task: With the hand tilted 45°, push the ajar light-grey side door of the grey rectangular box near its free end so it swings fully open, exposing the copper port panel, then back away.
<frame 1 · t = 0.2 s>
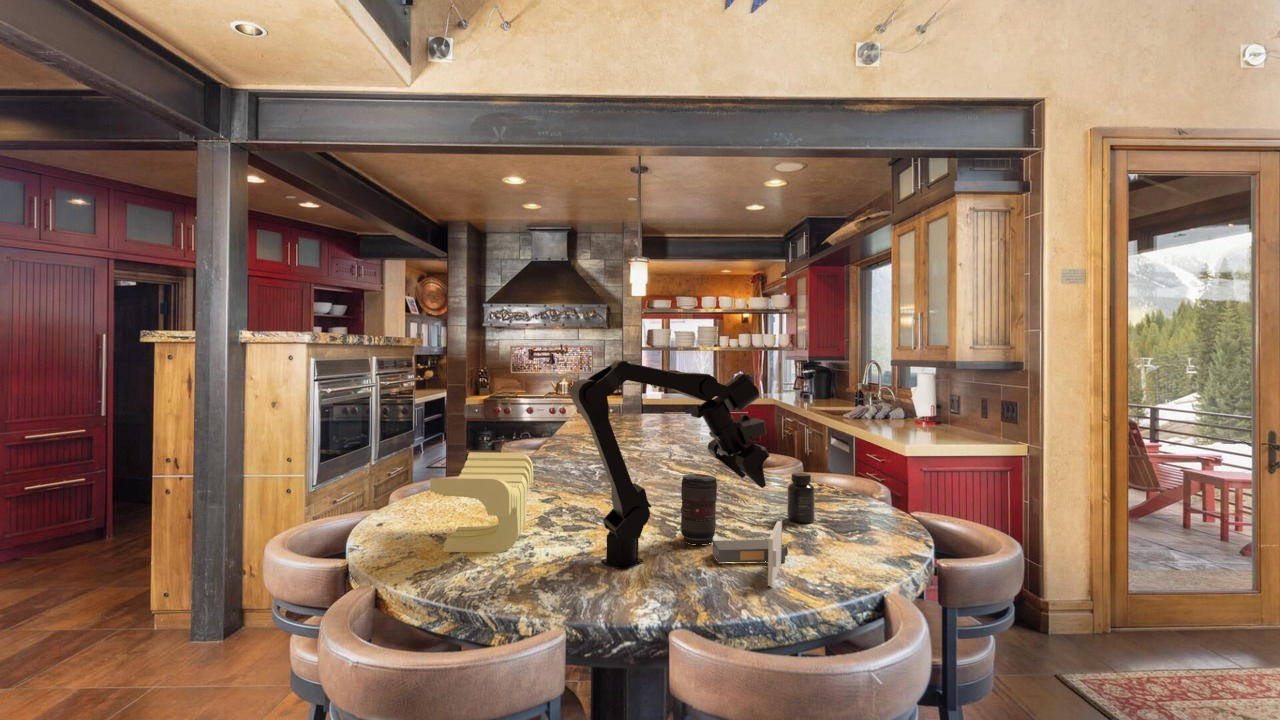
hand: (753, 481, 141), 15 cm above the worktop, tool tilted 30°, fingers open, 9 cm apart
camera lens: (698, 542, 144), on the worktop
supplement bottle: (800, 521, 163), on the worktop
slatted curved stool: (487, 543, 143), on the worktop
side door: (776, 551, 124), point 5 cm above the worktop, hinge at 65.0°
grey rectangular box: (775, 562, 131), on the worktop
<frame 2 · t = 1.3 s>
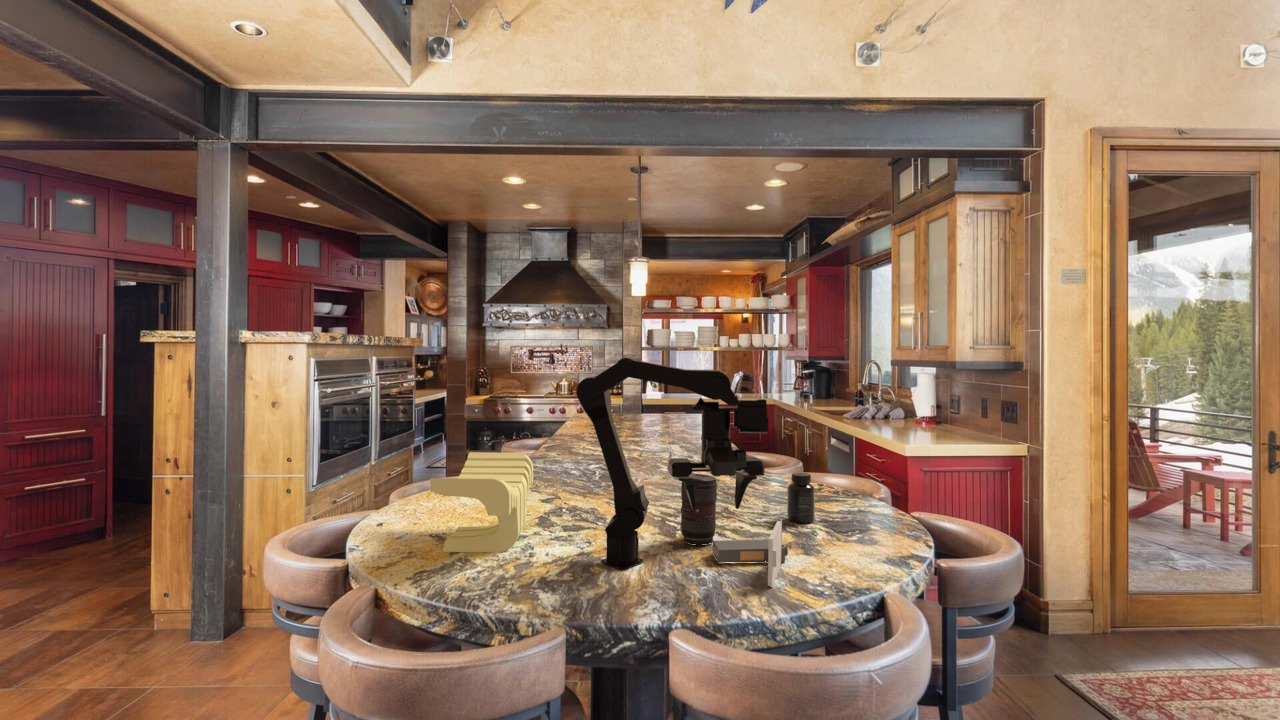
hand: (715, 509, 127), 12 cm above the worktop, tool pointing down, fingers open, 9 cm apart
nothing on the worktop moved.
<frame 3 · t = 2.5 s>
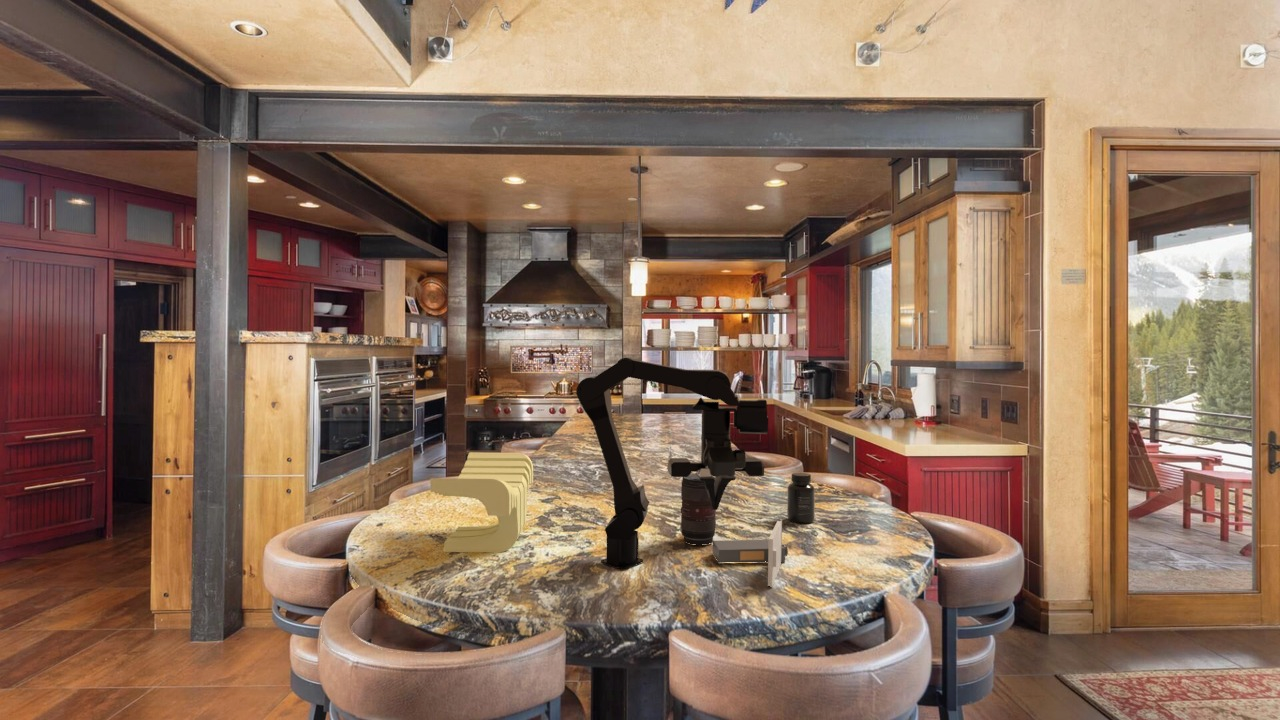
hand: (714, 509, 127), 12 cm above the worktop, tool pointing down, fingers closed
nothing on the worktop moved.
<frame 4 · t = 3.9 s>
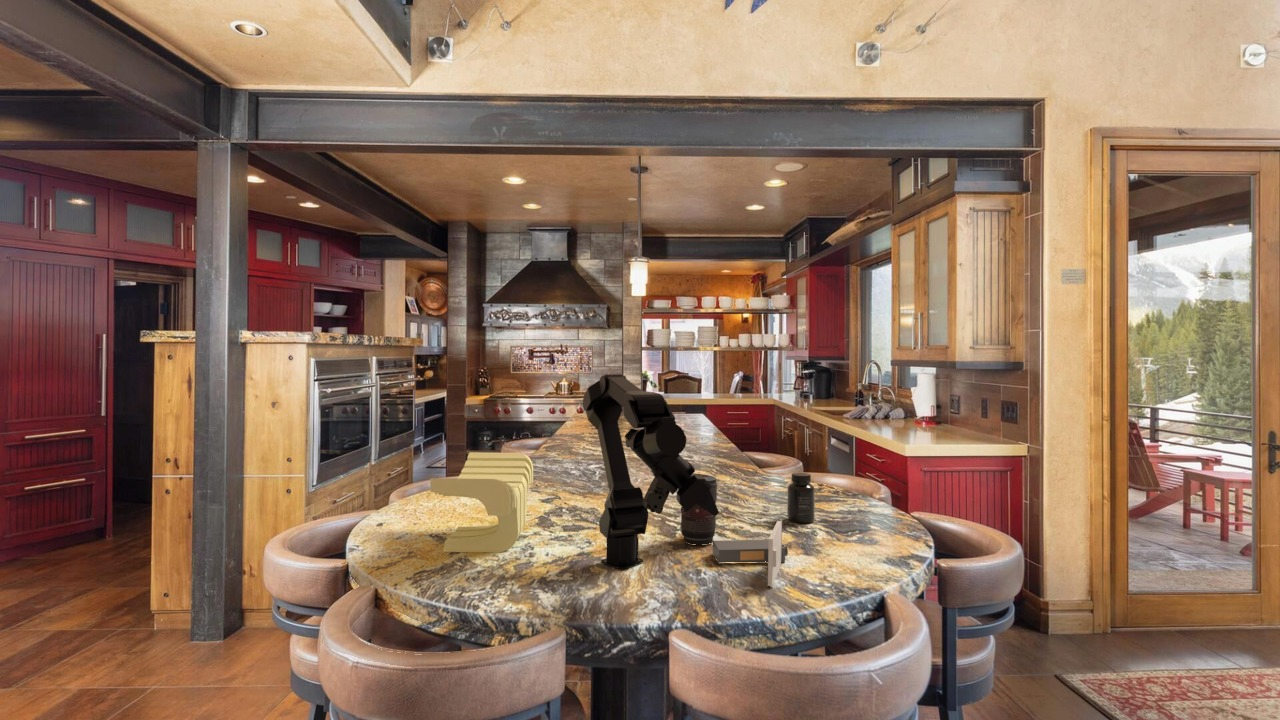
hand: (716, 514, 118), 13 cm above the worktop, tool tilted 45°, fingers closed
nothing on the worktop moved.
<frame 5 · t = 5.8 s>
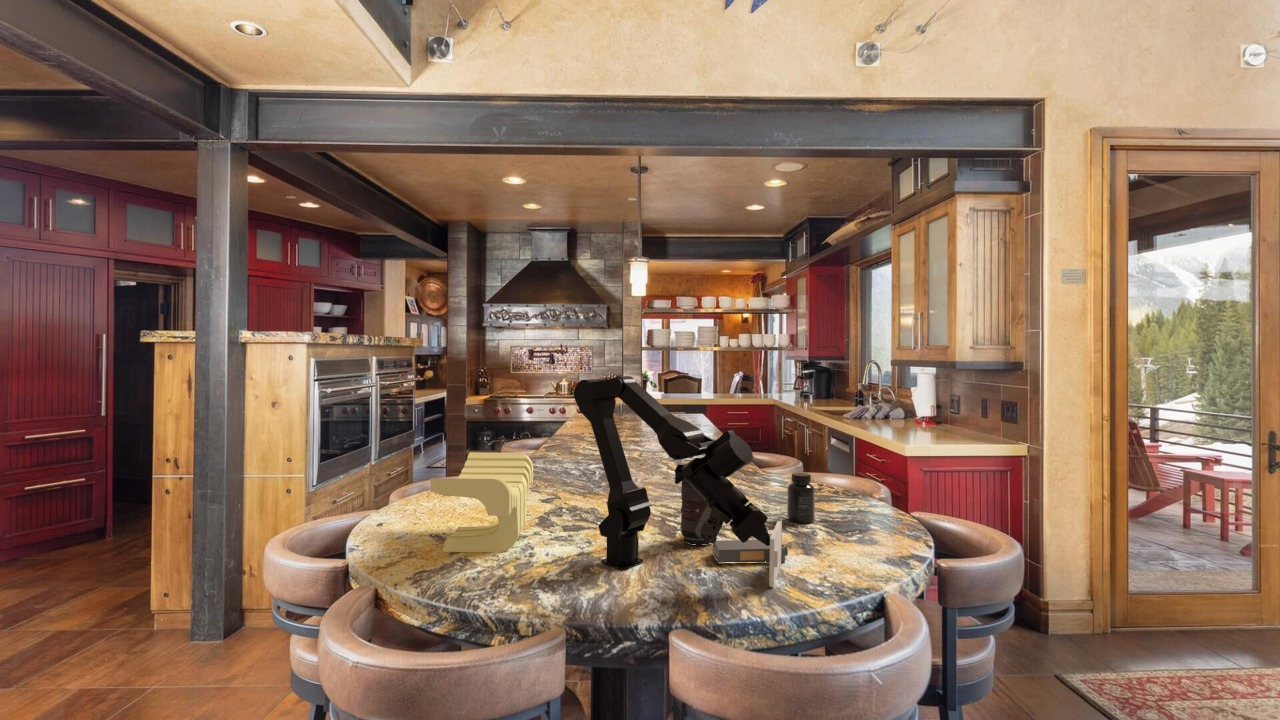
hand: (769, 543, 119), 8 cm above the worktop, tool tilted 45°, fingers closed
side door: (777, 551, 124), point 5 cm above the worktop, hinge at 66.1°, touching gripper
everything else where it was.
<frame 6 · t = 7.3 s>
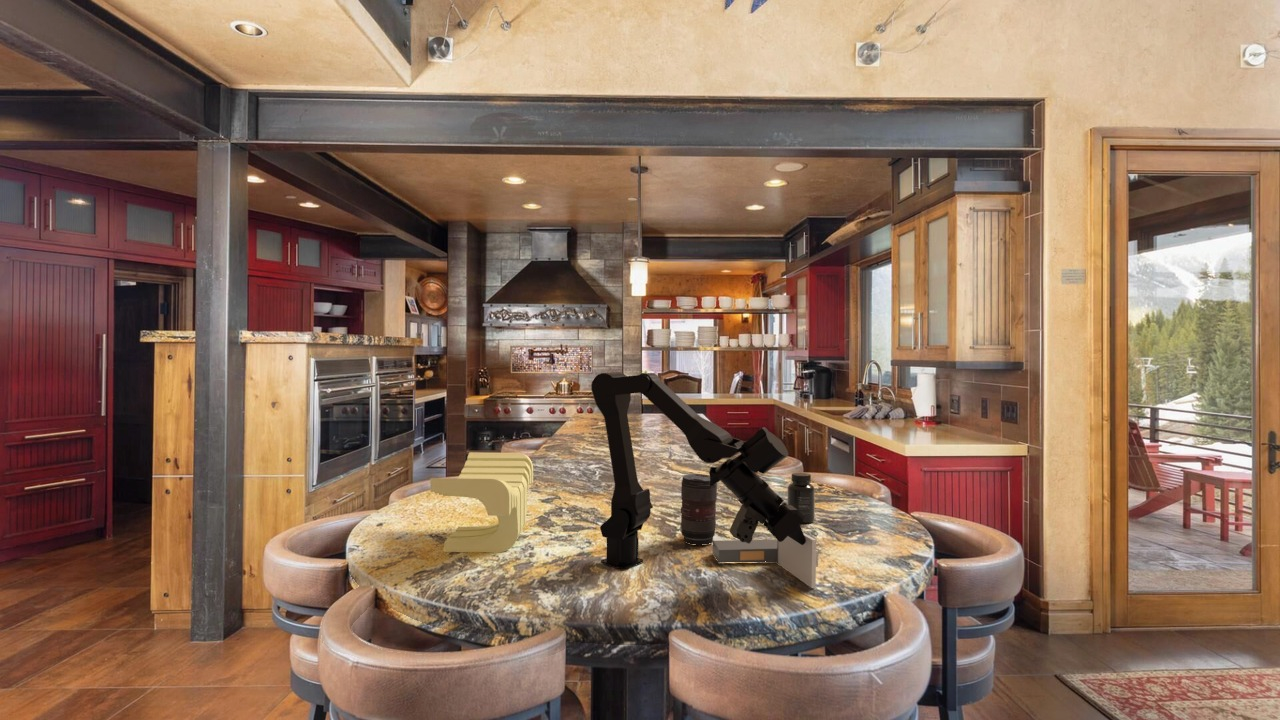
hand: (803, 543, 119), 8 cm above the worktop, tool tilted 45°, fingers closed, pressing on side door
side door: (796, 551, 124), point 5 cm above the worktop, hinge at 100.2°, touching gripper
everything else where it was.
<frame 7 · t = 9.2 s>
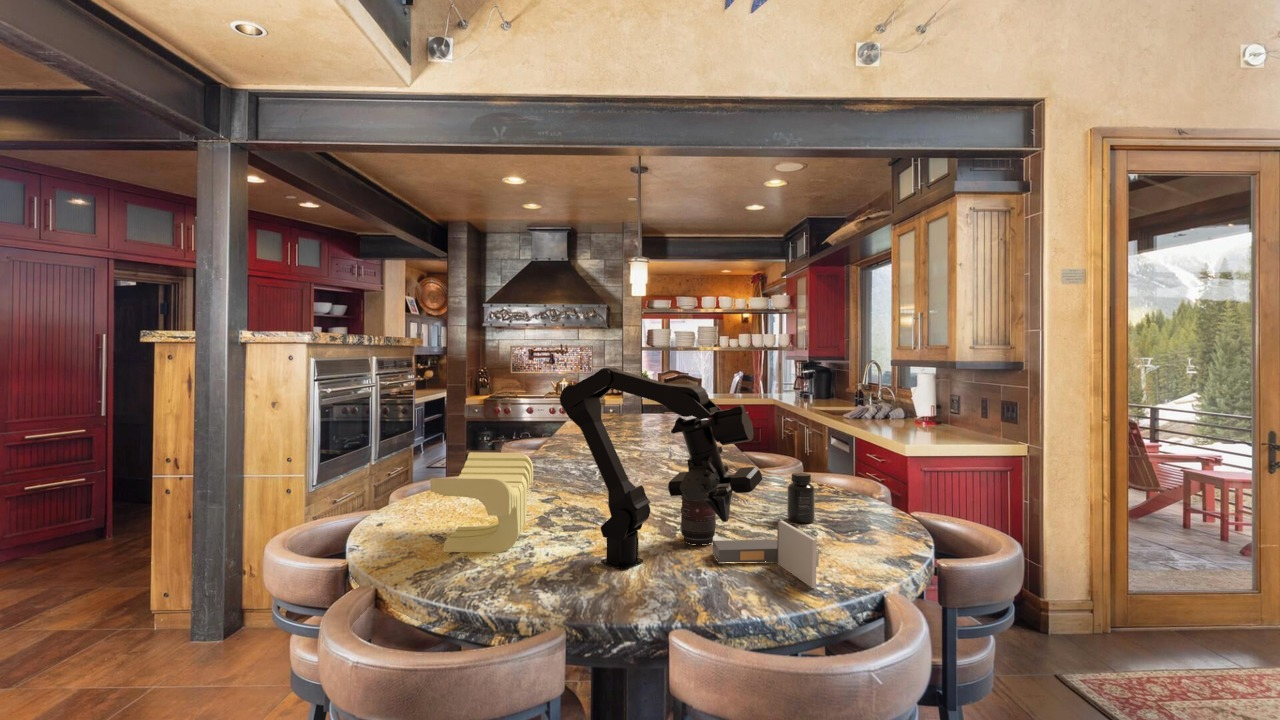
hand: (725, 521, 125), 10 cm above the worktop, tool tilted 20°, fingers closed
side door: (796, 551, 124), point 5 cm above the worktop, hinge at 100.6°
everything else where it was.
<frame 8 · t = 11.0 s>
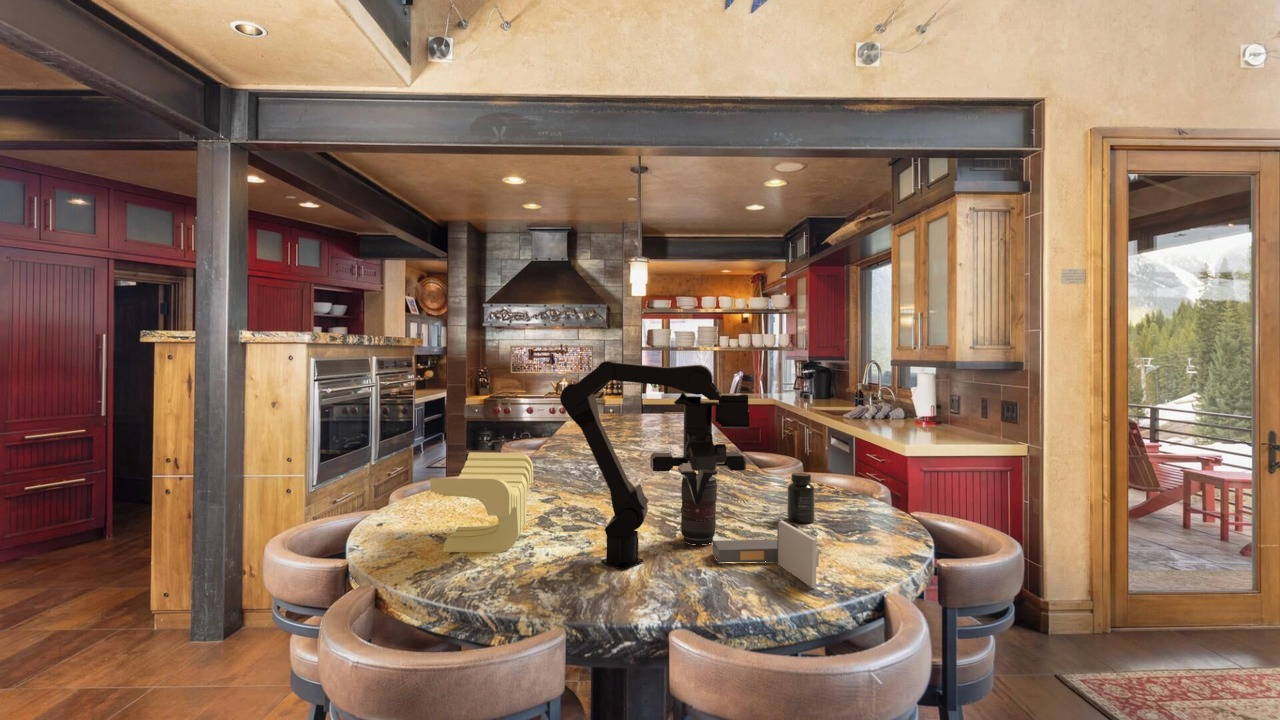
hand: (697, 503, 127), 13 cm above the worktop, tool pointing down, fingers closed
nothing on the worktop moved.
at the end: side door at +101° (first picture: +65°); side door touching nothing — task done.
